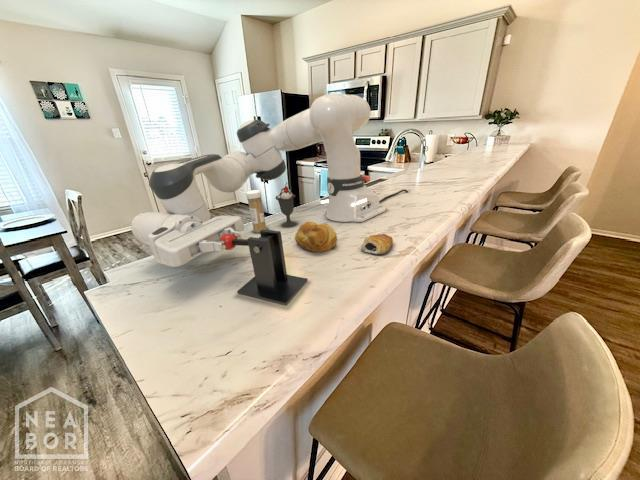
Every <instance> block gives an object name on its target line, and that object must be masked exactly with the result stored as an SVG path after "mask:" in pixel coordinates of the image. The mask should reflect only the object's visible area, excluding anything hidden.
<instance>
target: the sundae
mask: <svg viewBox="0 0 640 480" xmlns="http://www.w3.org/2000/svg"><path fill="white" fill-rule="evenodd" d="M287 185H288V182H286V181H285V186H284V187H283V188H281V189H280V192H279V194H278V195H276V196H275V200H276V201H278V204H279V208H280V211H281V213H282V214H283V215H284V216H285V217H286V221H285V222H283V223H282V224H281V226H282V227H284V228H292V227H295V226H296V225H297V223H296V222H295V221H292V220H291V215H292V213H293V212H294V200H295V198H296V195H295V194H294V193H292V192H291V189H290V188H289V187H288V186H287Z"/></svg>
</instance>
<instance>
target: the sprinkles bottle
mask: <svg viewBox="0 0 640 480" xmlns="http://www.w3.org/2000/svg"><path fill="white" fill-rule="evenodd" d="M245 196H246V199H247V203H248V210H249V214H250V215H249V216H250V220H251V224H252V231H253V232H254V233H256V234H257V233H259V234H260V231H261V230H262V229H265V230H268V228H267V225H266V218H265V217H266V216H265V212H264V207H263V203H262V192H261V190H259V189H253V190H248V191H246V192H245Z"/></svg>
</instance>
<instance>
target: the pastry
mask: <svg viewBox="0 0 640 480" xmlns="http://www.w3.org/2000/svg"><path fill="white" fill-rule="evenodd" d="M393 243H394V240H393V237H392V236H391V235H388V234H386V233H381V234H380V233H379V234H371V235H369V236H368V237H365V238H364V239H363V242H362V243H361V245H360V248H361V250H362V252H364V253H367V254H373V255H383V254H386V253H387V252H389V251H390V249H391V247H392V246H393Z"/></svg>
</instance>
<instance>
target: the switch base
mask: <svg viewBox="0 0 640 480" xmlns="http://www.w3.org/2000/svg"><path fill="white" fill-rule="evenodd" d="M259 235H260V237H261V236H273V237H274V241H275V245H276V247H275V248H273V249H272V250H271V248H270V242H269V239H262V238H259V237H253V236H250V237H248V238H246V239H247V240H248V245H249V246H248V249H249V254H250V259H251V263H252V268H253V274H254V276H253V277H252V278H250V280H249V281H247V282H246V283H245V284H244V285H242V286H241V287H240V288H239V289H238V290H237V291H236V293H237V294H238V295H242V296H246V297H250V298H254V299H258V300H262V301H266V302H270V303H274V304H277V305H282V306H285V307H286V306H288V305H289V304H290V303H291V301H292V300H293V299H294V298H295V297H296V295H297V294H298V293H299V292H300V290H301V289H302V288H303V287H304V286H305V285H306V284H307V283H308V281H309V280H308V278H305V277H302V276H296V275H291V274H288V272H287V266H286V259H285V251H284V246H283V244H284V243H283V239H282V232H281V230H272V229H266V230H265V229H262V230H261V231H260V233H259Z"/></svg>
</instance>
